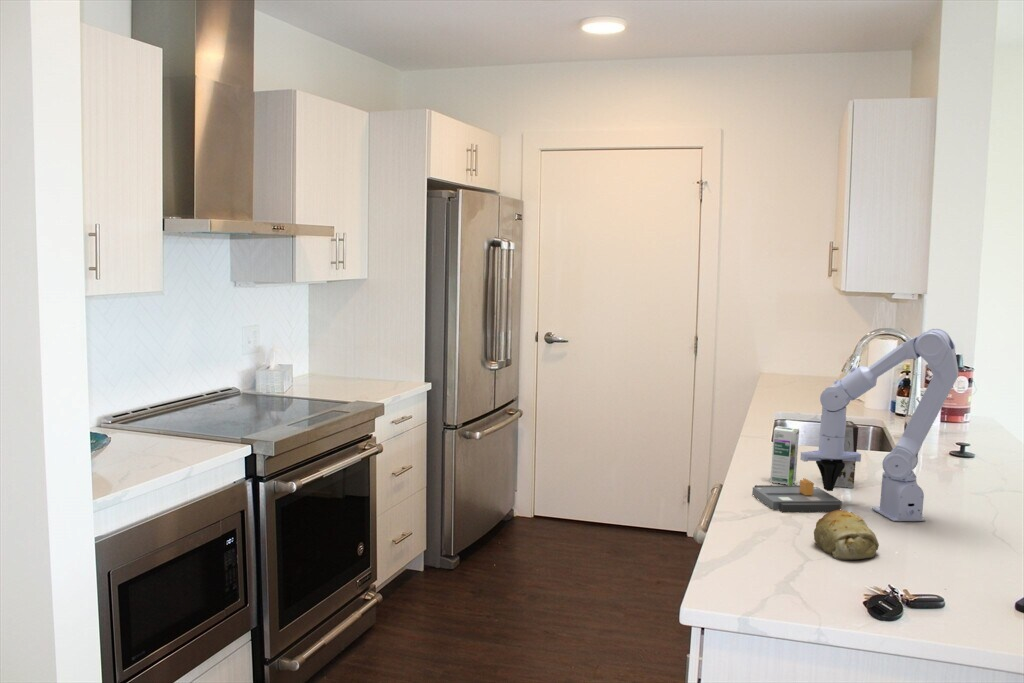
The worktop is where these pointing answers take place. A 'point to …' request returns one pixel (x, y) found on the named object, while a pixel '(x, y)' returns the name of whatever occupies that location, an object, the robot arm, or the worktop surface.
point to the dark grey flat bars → (804, 504)
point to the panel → (791, 496)
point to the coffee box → (849, 470)
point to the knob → (806, 487)
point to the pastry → (845, 536)
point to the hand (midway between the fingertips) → (828, 489)
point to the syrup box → (784, 455)
